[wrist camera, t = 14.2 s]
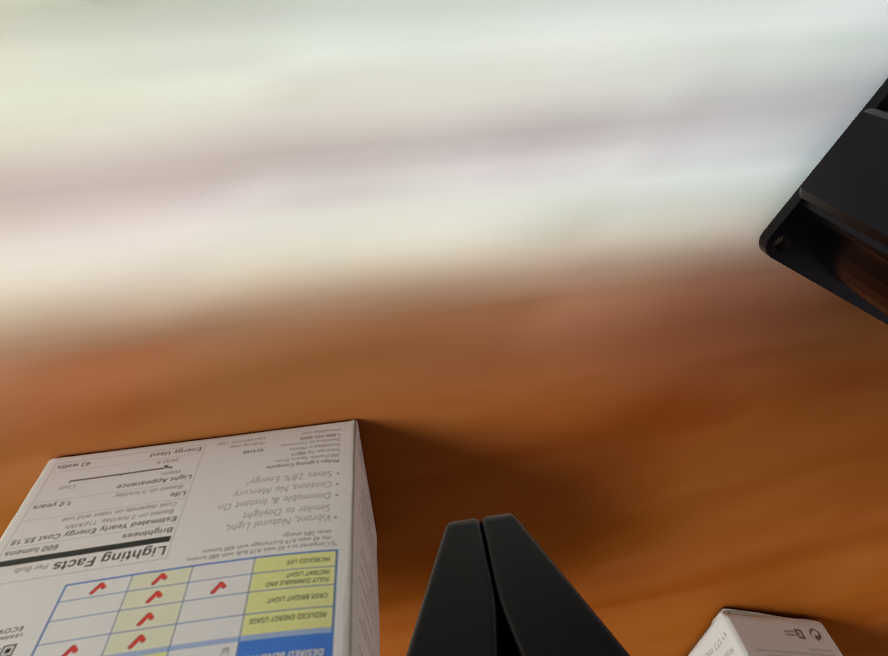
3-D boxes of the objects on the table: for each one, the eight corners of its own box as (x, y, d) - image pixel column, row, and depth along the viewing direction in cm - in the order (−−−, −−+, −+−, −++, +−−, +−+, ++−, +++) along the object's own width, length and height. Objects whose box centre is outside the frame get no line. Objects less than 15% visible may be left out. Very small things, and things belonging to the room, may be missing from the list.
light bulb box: (112, 582, 25) (-40, 956, 16) (42, 451, 21) (-207, 831, 12) (386, 544, 25) (395, 884, 16) (360, 410, 22) (353, 746, 13)
